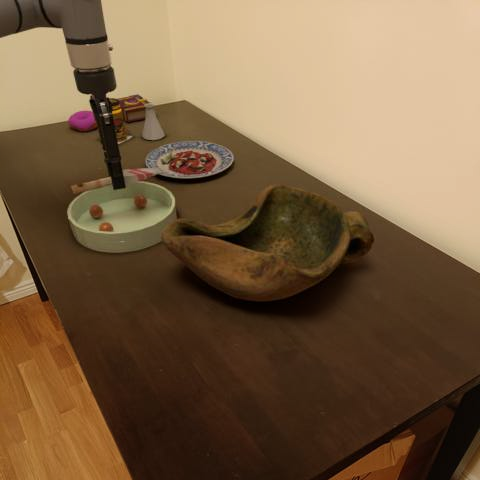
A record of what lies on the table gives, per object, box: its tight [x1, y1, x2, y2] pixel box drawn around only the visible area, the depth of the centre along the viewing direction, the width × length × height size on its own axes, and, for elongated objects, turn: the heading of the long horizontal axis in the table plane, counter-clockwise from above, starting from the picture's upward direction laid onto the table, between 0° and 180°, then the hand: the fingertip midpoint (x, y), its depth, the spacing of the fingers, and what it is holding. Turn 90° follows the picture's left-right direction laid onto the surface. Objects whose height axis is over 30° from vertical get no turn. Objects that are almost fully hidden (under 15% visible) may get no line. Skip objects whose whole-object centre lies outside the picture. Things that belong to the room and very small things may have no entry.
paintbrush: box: [70, 167, 161, 195], centre depth 96 cm, size 4×3×20 cm
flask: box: [141, 102, 166, 141], centre depth 140 cm, size 7×7×10 cm
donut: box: [67, 110, 98, 133], centre depth 148 cm, size 10×10×5 cm
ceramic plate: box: [145, 140, 234, 180], centre depth 126 cm, size 26×26×3 cm
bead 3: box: [134, 195, 147, 208], centre depth 106 cm, size 3×3×3 cm
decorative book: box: [117, 93, 153, 123], centre depth 157 cm, size 11×16×5 cm
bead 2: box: [99, 222, 114, 232], centre depth 97 cm, size 3×3×3 cm
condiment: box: [109, 97, 133, 145], centre depth 138 cm, size 7×8×12 cm
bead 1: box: [89, 205, 103, 218], centre depth 103 cm, size 3×3×3 cm
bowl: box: [161, 183, 375, 303], centre depth 83 cm, size 39×29×15 cm
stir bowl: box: [66, 180, 178, 254], centre depth 102 cm, size 25×25×5 cm
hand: (117, 183), depth 97 cm, fingers closed on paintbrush, 4 cm apart
